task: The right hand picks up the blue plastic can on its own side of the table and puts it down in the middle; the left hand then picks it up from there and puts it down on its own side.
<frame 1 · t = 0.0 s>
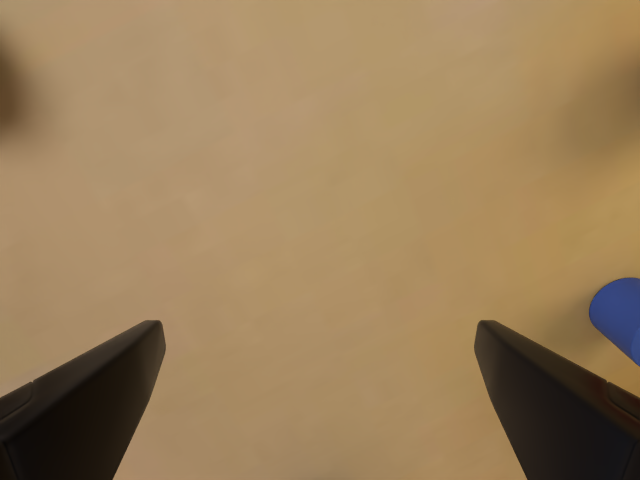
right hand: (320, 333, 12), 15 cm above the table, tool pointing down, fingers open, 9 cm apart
can: (621, 306, 28), on the table
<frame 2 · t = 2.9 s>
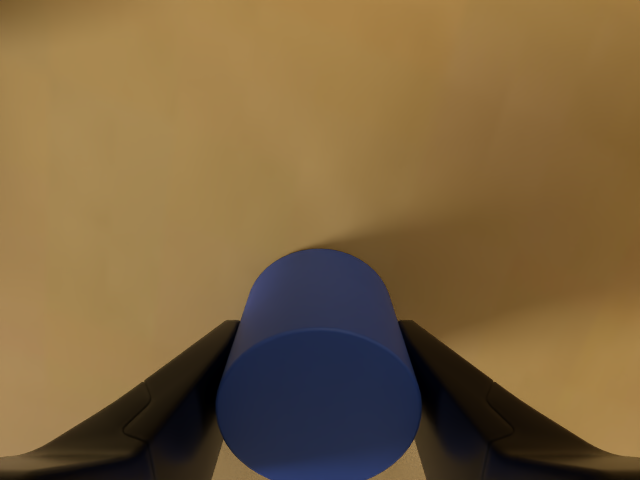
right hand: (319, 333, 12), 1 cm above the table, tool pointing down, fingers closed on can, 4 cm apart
can: (319, 314, 12), on the table, touching right hand
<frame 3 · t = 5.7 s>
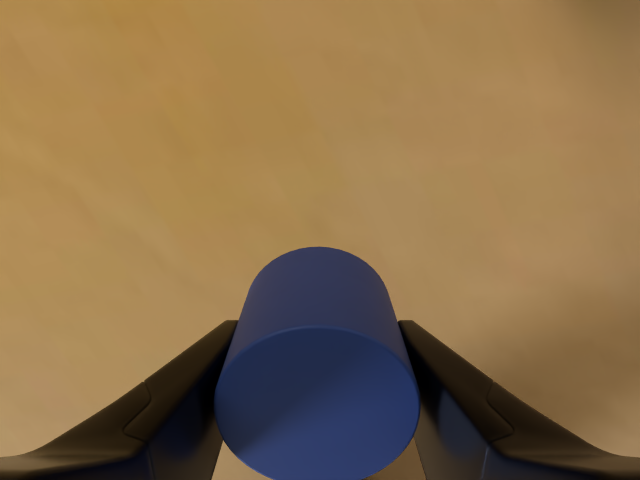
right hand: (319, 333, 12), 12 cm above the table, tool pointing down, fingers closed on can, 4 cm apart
can: (318, 312, 12), point 11 cm above the table, touching right hand
when the right hand's fingers open (2 cm above the table, at t = 8.6 s): can stays where it is, on the table.
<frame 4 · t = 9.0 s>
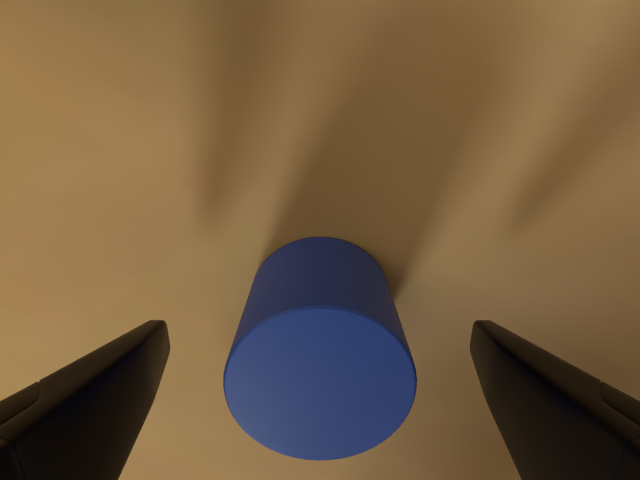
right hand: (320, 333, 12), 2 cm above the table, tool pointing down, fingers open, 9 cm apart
can: (320, 300, 13), on the table
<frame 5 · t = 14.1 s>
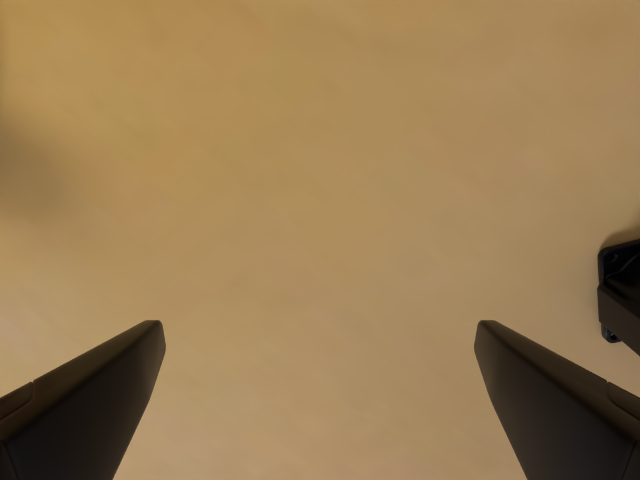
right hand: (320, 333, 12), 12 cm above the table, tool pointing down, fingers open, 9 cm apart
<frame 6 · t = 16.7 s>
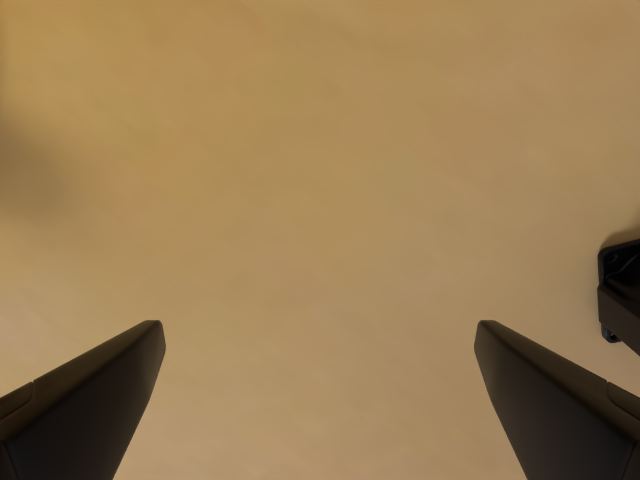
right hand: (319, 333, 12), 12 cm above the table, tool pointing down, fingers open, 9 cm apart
when the left hand's fingers open (2 cm above the table, at t = 19.3 s): can stays where it is, on the table.
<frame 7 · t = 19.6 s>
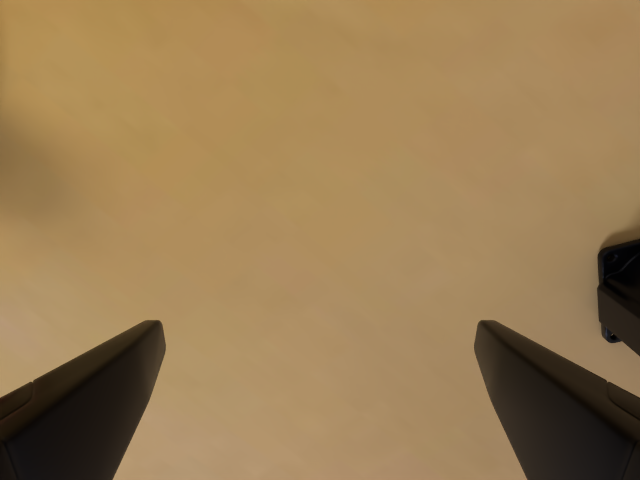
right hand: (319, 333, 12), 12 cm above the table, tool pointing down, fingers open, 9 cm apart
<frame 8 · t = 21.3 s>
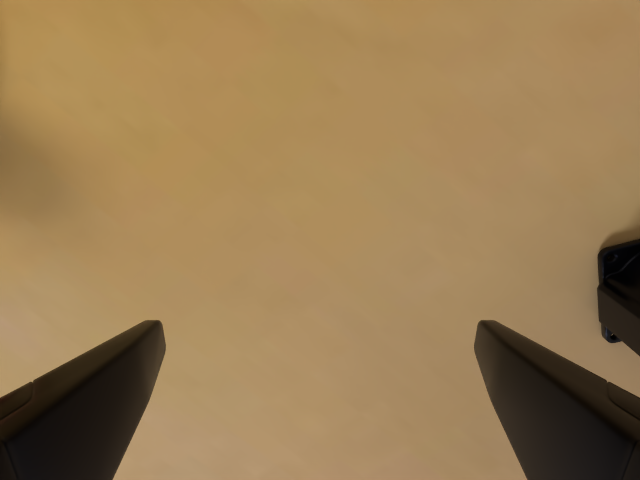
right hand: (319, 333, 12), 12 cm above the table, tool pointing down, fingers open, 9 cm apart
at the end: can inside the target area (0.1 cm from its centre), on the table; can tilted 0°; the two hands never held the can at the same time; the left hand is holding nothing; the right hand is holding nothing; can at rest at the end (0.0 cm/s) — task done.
